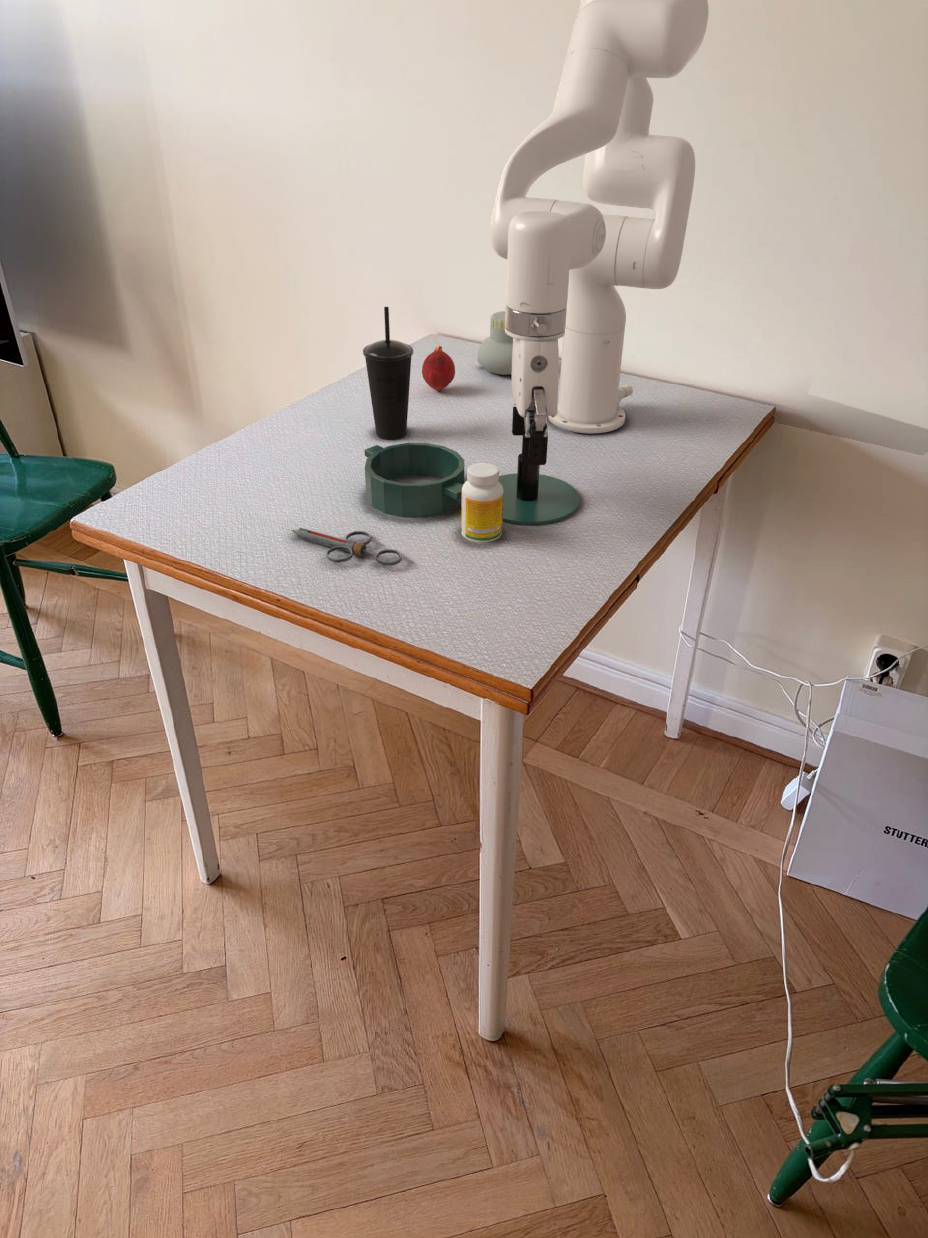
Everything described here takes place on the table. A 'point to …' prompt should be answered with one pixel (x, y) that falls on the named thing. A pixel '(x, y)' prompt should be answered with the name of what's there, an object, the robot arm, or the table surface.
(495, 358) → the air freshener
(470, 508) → the supplement bottle
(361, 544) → the syringe
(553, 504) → the lid
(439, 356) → the onion
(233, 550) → the table surface
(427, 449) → the pot
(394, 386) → the drinking cup
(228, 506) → the table surface
